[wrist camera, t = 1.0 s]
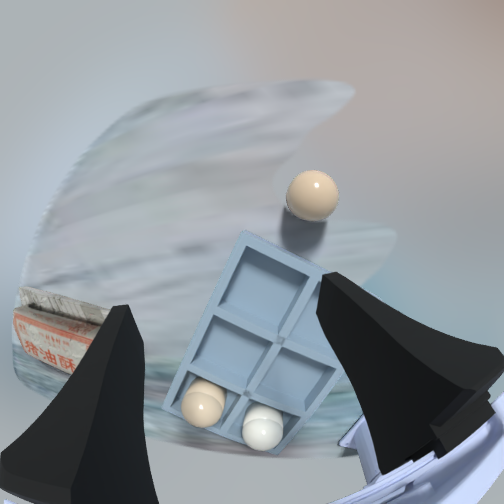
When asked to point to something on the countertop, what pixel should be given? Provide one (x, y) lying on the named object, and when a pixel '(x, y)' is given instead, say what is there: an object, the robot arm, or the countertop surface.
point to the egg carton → (261, 340)
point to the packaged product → (56, 327)
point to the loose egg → (312, 196)
